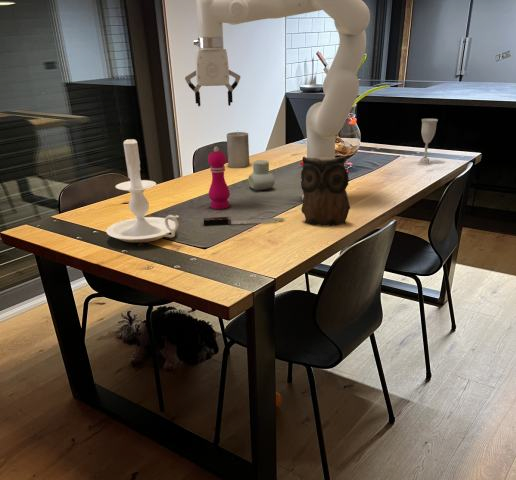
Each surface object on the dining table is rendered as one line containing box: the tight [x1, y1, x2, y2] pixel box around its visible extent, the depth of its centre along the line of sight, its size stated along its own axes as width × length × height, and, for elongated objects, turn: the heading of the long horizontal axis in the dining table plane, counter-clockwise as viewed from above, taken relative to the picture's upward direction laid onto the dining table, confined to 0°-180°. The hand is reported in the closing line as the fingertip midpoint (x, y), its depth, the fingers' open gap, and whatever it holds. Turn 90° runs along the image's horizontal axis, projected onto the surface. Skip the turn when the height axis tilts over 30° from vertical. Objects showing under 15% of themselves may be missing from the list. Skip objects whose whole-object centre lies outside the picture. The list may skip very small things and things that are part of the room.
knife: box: [203, 216, 284, 227], centre depth 170 cm, size 25×4×2 cm, turn 95°
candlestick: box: [106, 138, 180, 244], centre depth 152 cm, size 21×25×28 cm
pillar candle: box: [226, 130, 250, 169], centre depth 239 cm, size 10×10×15 cm
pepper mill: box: [207, 146, 231, 210], centre depth 181 cm, size 7×7×20 cm
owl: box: [300, 156, 351, 227], centre depth 163 cm, size 13×13×20 cm
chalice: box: [418, 118, 439, 166], centre depth 231 cm, size 7×7×18 cm
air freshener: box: [247, 159, 276, 191], centre depth 204 cm, size 11×8×10 cm
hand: (214, 105), depth 171 cm, fingers open, 9 cm apart
